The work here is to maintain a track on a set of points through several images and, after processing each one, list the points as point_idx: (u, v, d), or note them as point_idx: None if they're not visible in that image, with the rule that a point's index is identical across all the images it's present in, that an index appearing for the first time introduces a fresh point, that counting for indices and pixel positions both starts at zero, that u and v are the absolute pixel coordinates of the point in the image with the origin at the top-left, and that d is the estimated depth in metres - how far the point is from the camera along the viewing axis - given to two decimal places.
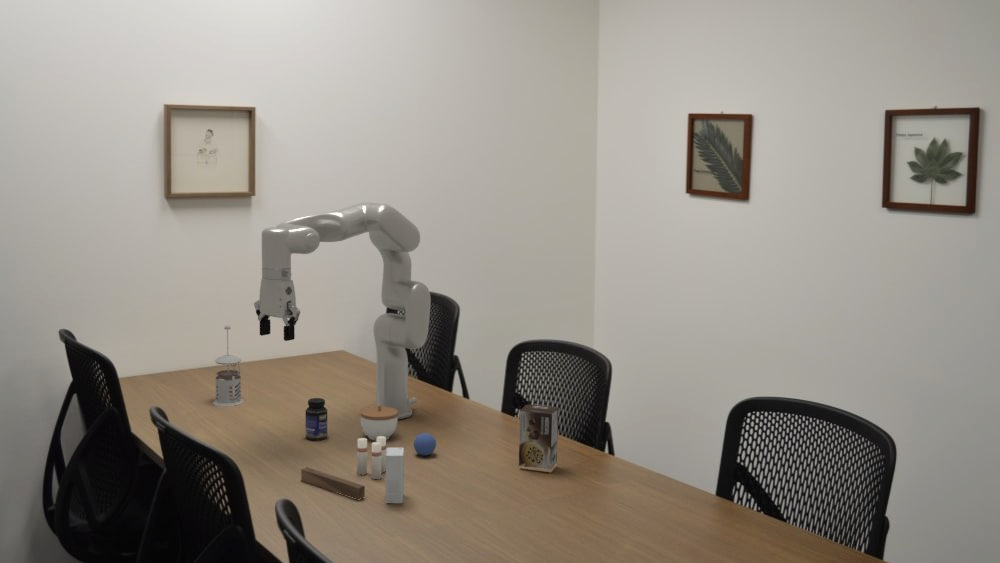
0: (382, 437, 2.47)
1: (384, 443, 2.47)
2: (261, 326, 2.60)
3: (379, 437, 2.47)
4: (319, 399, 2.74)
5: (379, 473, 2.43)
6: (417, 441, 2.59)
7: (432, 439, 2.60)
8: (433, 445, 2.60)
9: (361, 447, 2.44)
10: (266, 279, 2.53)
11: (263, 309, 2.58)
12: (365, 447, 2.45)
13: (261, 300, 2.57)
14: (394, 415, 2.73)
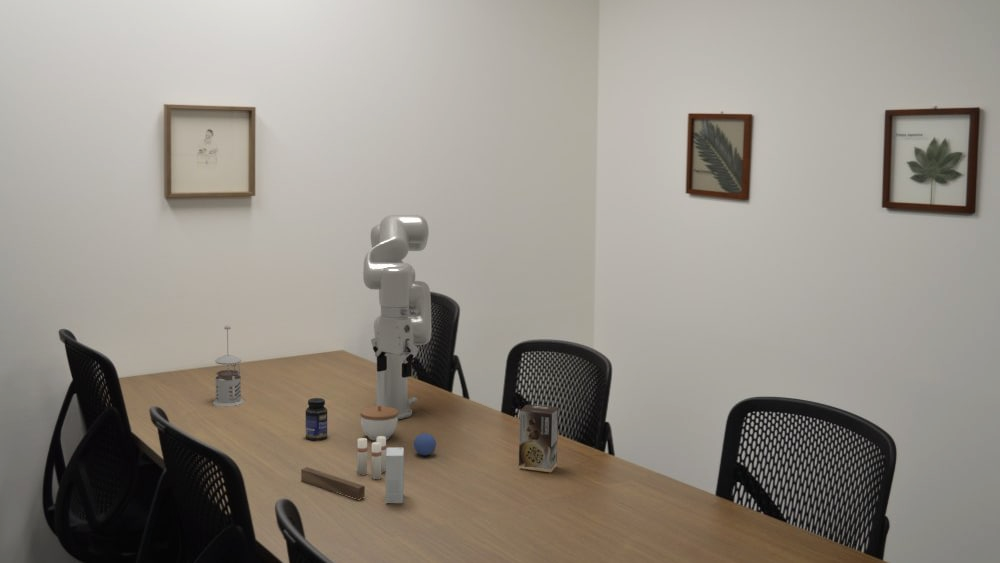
0: (382, 437, 2.47)
1: (384, 443, 2.47)
2: (378, 362, 2.65)
3: (379, 437, 2.47)
4: (319, 399, 2.74)
5: (379, 473, 2.43)
6: (417, 441, 2.59)
7: (432, 439, 2.60)
8: (433, 445, 2.60)
9: (361, 447, 2.44)
10: (385, 317, 2.59)
11: (381, 346, 2.63)
12: (365, 447, 2.45)
13: (379, 337, 2.63)
14: (394, 415, 2.73)
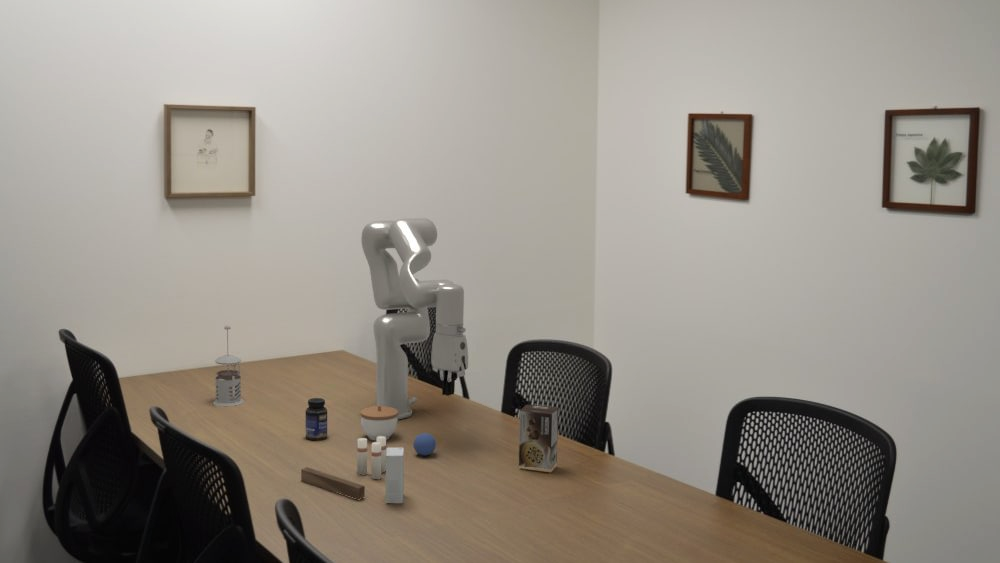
0: (382, 437, 2.47)
1: (384, 443, 2.47)
2: (444, 386, 2.66)
3: (379, 437, 2.47)
4: (319, 399, 2.74)
5: (379, 473, 2.43)
6: (417, 441, 2.59)
7: (432, 439, 2.60)
8: (433, 445, 2.60)
9: (361, 447, 2.44)
10: (441, 335, 2.62)
11: (436, 363, 2.66)
12: (365, 447, 2.45)
13: (434, 354, 2.66)
14: (394, 415, 2.73)
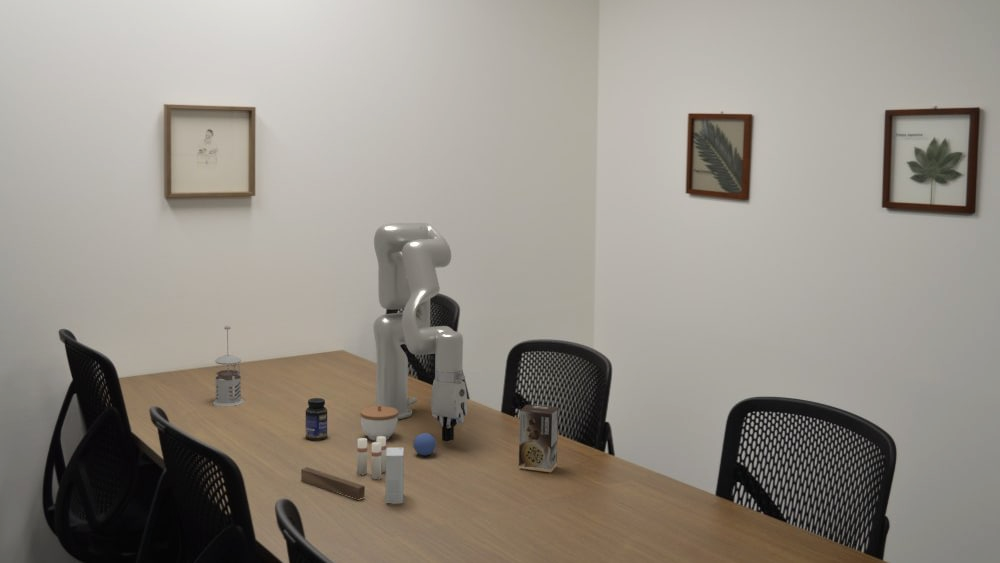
0: (382, 437, 2.47)
1: (384, 443, 2.47)
2: (444, 432, 2.68)
3: (379, 437, 2.47)
4: (319, 399, 2.74)
5: (379, 473, 2.43)
6: (417, 441, 2.59)
7: (432, 439, 2.60)
8: (433, 445, 2.60)
9: (361, 447, 2.44)
10: (441, 382, 2.63)
11: (435, 409, 2.68)
12: (365, 447, 2.45)
13: (433, 400, 2.68)
14: (394, 415, 2.73)
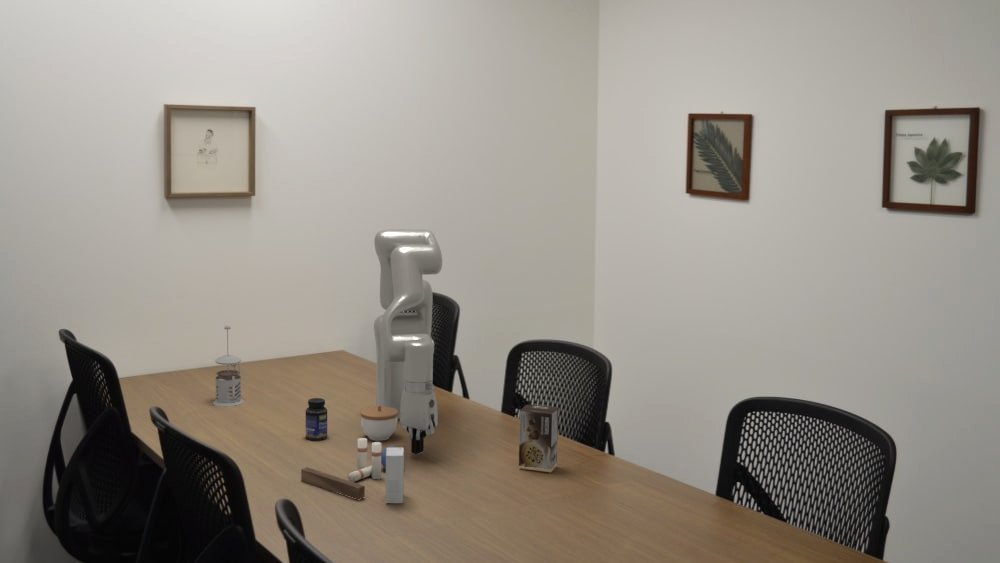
0: (352, 476, 2.40)
1: (358, 477, 2.40)
2: (413, 444, 2.58)
3: (350, 478, 2.40)
4: (319, 399, 2.74)
5: (379, 473, 2.43)
6: None
7: None
8: None
9: (361, 447, 2.44)
10: (410, 392, 2.54)
11: (404, 420, 2.58)
12: (365, 447, 2.45)
13: (402, 411, 2.58)
14: (394, 415, 2.73)
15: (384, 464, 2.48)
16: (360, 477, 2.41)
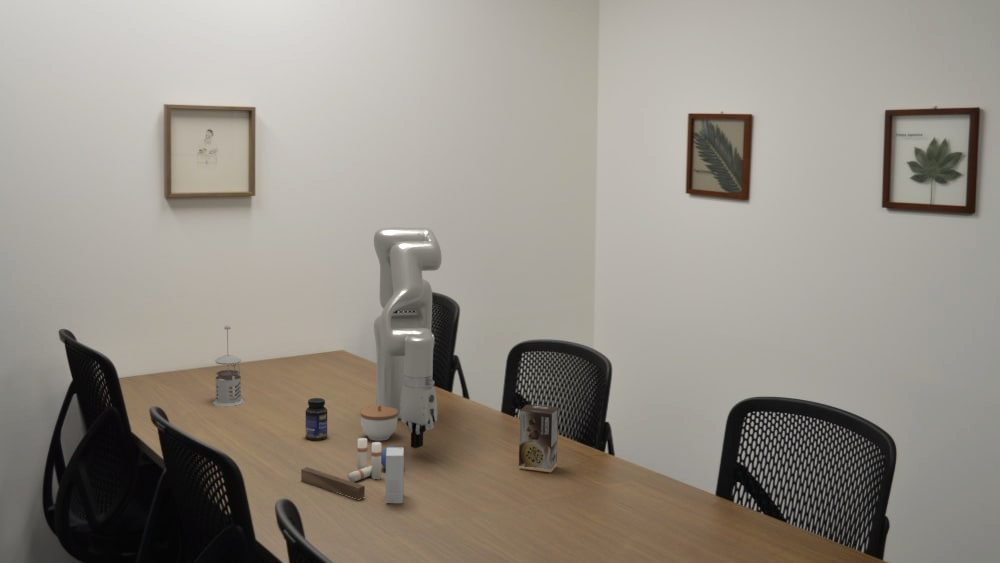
0: (352, 476, 2.40)
1: (358, 477, 2.40)
2: (412, 438, 2.59)
3: (350, 478, 2.40)
4: (319, 399, 2.74)
5: (379, 473, 2.43)
6: None
7: None
8: None
9: (361, 447, 2.44)
10: (409, 387, 2.54)
11: (404, 415, 2.58)
12: (365, 447, 2.45)
13: (402, 406, 2.58)
14: (394, 415, 2.73)
15: (384, 464, 2.48)
16: (360, 477, 2.41)
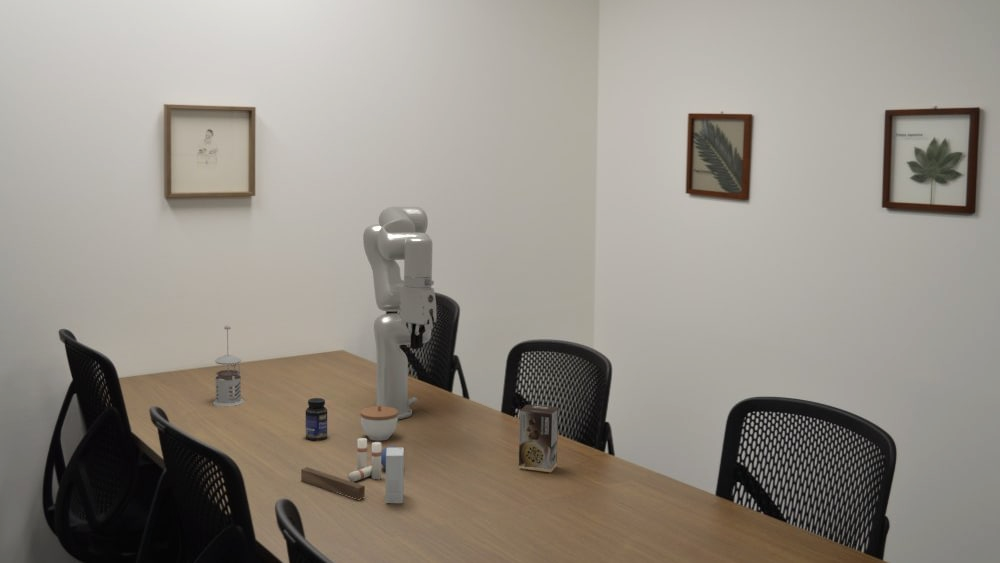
0: (352, 476, 2.40)
1: (358, 477, 2.40)
2: (412, 339, 2.64)
3: (350, 478, 2.40)
4: (319, 399, 2.74)
5: (379, 473, 2.43)
6: None
7: None
8: None
9: (361, 447, 2.44)
10: (409, 287, 2.59)
11: (404, 316, 2.63)
12: (365, 447, 2.45)
13: (402, 307, 2.63)
14: (394, 415, 2.73)
15: (384, 464, 2.48)
16: (360, 477, 2.41)
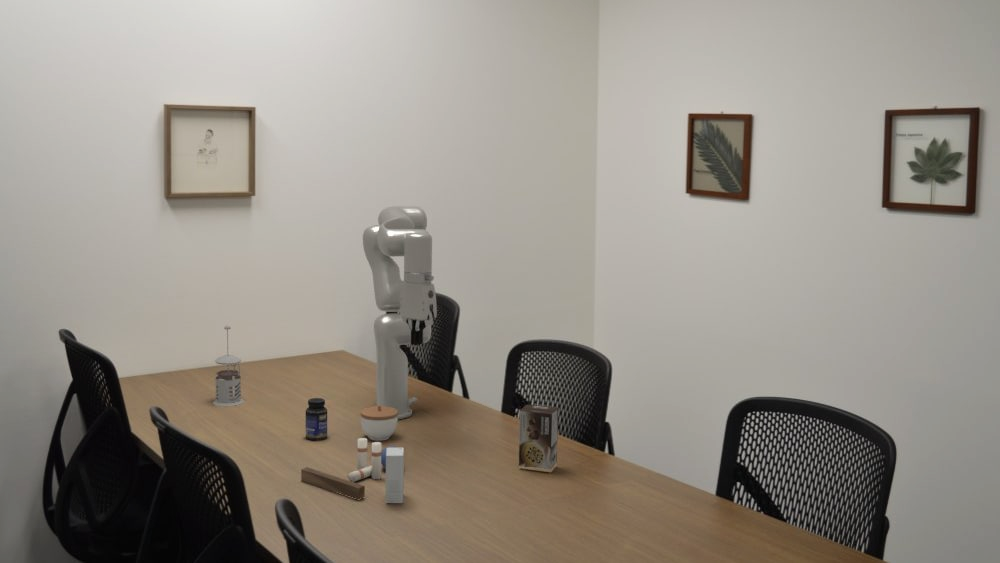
0: (352, 476, 2.40)
1: (358, 477, 2.40)
2: (412, 335, 2.64)
3: (350, 478, 2.40)
4: (319, 399, 2.74)
5: (379, 473, 2.43)
6: None
7: None
8: None
9: (361, 447, 2.44)
10: (409, 283, 2.59)
11: (404, 312, 2.64)
12: (365, 447, 2.45)
13: (402, 303, 2.64)
14: (394, 415, 2.73)
15: (384, 464, 2.48)
16: (360, 477, 2.41)
